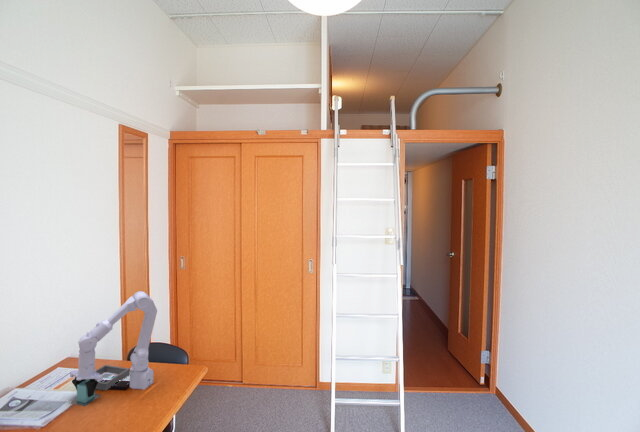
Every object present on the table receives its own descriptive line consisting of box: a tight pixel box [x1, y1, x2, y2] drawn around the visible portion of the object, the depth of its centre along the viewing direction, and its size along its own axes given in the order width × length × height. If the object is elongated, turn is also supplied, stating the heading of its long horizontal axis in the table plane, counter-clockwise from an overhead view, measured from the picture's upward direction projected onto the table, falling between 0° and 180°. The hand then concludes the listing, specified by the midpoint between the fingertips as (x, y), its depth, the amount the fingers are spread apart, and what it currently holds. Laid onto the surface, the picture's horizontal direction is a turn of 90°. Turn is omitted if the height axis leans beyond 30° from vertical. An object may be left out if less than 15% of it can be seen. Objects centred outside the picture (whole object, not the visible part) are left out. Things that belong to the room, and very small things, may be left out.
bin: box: [88, 364, 131, 391], centre depth 149 cm, size 14×14×4 cm
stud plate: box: [70, 393, 102, 407], centre depth 135 cm, size 8×8×4 cm
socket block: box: [76, 379, 96, 403], centre depth 135 cm, size 4×4×7 cm
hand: (85, 394), depth 135 cm, fingers closed on socket block, 4 cm apart
